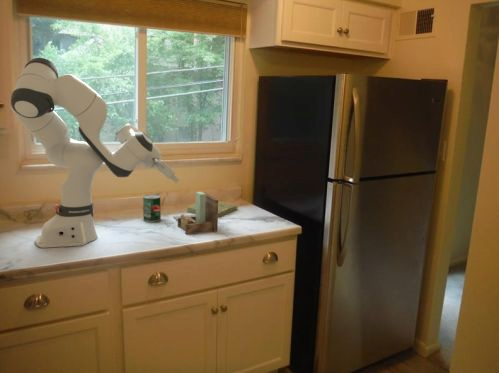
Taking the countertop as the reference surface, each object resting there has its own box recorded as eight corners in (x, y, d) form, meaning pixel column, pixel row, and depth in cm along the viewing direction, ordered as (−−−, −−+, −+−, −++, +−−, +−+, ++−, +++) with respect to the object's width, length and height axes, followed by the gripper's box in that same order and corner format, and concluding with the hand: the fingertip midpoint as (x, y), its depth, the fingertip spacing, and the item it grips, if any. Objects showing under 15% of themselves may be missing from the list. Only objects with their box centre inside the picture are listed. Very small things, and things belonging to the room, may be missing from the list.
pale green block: (199, 230, 189) (199, 194, 186) (195, 227, 194) (195, 192, 190) (205, 229, 190) (205, 194, 187) (200, 226, 195) (201, 191, 192)
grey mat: (181, 224, 196) (181, 223, 196) (173, 217, 207) (173, 216, 207) (206, 222, 202) (206, 220, 202) (197, 215, 212) (197, 214, 212)
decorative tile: (237, 210, 226) (237, 203, 226) (216, 219, 209) (216, 212, 208) (207, 205, 235) (207, 198, 234) (185, 213, 218) (185, 206, 217)
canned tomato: (145, 216, 207) (145, 194, 205) (161, 217, 207) (161, 194, 205) (141, 221, 199) (141, 198, 197) (159, 221, 199) (159, 198, 197)
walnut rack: (187, 235, 182) (187, 202, 179) (176, 225, 194) (176, 195, 191) (217, 231, 188) (218, 200, 185) (205, 222, 200) (206, 193, 198)
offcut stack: (186, 233, 185) (187, 219, 184) (180, 227, 192) (180, 214, 191) (196, 231, 187) (196, 218, 186) (189, 226, 194) (190, 213, 193)
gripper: (162, 154, 166) (186, 178, 172) (150, 148, 184) (173, 169, 190) (150, 166, 165) (175, 190, 171) (140, 158, 183) (163, 180, 189)
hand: (174, 179), depth 181 cm, fingers open, 8 cm apart
